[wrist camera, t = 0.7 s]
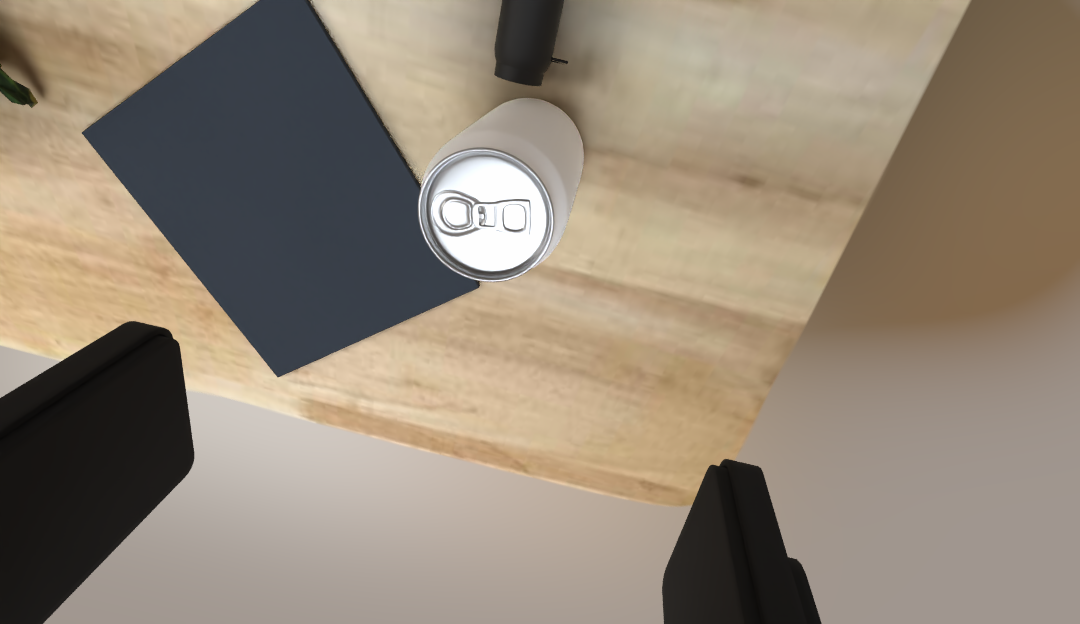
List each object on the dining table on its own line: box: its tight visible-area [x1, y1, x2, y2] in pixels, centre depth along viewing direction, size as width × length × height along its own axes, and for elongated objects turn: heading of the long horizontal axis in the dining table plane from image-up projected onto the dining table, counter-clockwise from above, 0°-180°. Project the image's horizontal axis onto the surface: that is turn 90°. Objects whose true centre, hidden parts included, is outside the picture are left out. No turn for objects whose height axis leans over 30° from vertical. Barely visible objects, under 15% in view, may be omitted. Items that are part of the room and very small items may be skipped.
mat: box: [82, 0, 480, 377], centre depth 37 cm, size 20×18×1 cm
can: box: [418, 98, 584, 282], centre depth 29 cm, size 6×6×12 cm
